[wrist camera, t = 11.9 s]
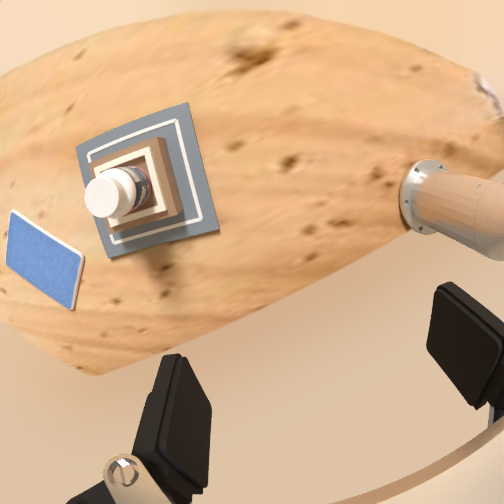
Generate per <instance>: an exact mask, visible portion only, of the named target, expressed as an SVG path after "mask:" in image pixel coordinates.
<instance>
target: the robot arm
mask: <svg viewBox="0 0 504 504" xmlns="http://www.w3.org/2000/svg"><path fill="white" fill-rule="evenodd" d="M399 200H400V208H401V213H402V215H403V218H404V220H405V221H406V223H407V224H408V225H409V227H410V228H412V229H413V230H414V231H416V232H418V233H421V234H433V233H436V232H437V231H438V232H440V233H442V234H444V235H446V236H448V237H450V238H452V239H454V240H456V241H458V242H460V243H462V244H463V245H465V246H467V247H469V248H471V249H473V250H475V251H477V252H478V253H481V254H482V255H484V256H486V257H488V258H490V259H492V260H497V261H504V183H500V182H496V181H492V180H488V179H483V178H479V177H474V176H469V175H464V174H459V173H454V172H449V171H448V169H447V168H446V167H445V166H444V165H443V164H442V163H440V162H439V161H436V160H433V159H423V160H420V161H417V162H416V163H414V164H413V165H412V166H411V167H410V168H409V169H408V171H407V172H406V174H405V176H404V178H403V180H402V184H401V188H400V196H399ZM426 346H427V350H428V352H429V353H430V355H431V356H432V357H433V358H434V359H435V361H436V362H437V363H438V365H439V366H440V367H441V368H442V370H443V371H444V372H445V373H446V375H447V376H448V377H449V379H450V380H451V381H452V383H453V384H454V385H455V386H456V388H457V389H458V390H459V392H460V393H461V394H462V396H463V397H464V399H465V400H466V401H467V403H468V404H469V405H471V406H474V408H475V409H476V410H478V409H479V408H481V407H482V406H483V405H485V404H486V402H487V401H488V402H489V404H490V409H489V410H490V411H489V420H488V428H487V429H486V430H484V431H483V432H482V433H480V434H479V435H478V436H476V437H475V438H473V439H472V440H470V441H469V442H467V443H466V444H465V445H463V446H461V447H460V448H458V449H457V450H455V451H453V452H452V453H450V454H448V455H447V456H445V457H443V458H441V459H440V460H438V461H436V462H434V463H433V464H431V465H429V466H427V467H425V468H423V469H421V470H419V471H417V472H415V473H413V474H411V475H409V476H406V477H404V478H402V479H400V480H398V481H395V482H393V483H391V484H388V485H386V486H383V487H381V488H378V489H375V490H373V491H370V492H367V493H364V494H361V495H358V496H355V497H352V498H349V499H345V500H342V501H339V502H335V503H331V504H504V323H503V322H502V321H501V320H500V319H499V318H498V317H496V316H495V315H494V314H493V313H492V312H490V311H489V310H488V309H486V308H485V307H484V306H483V305H482V304H480V303H479V302H478V301H476V300H475V299H474V298H472V297H471V296H470V295H469V294H468V293H466V292H465V291H464V290H462V289H461V288H460V287H458V286H457V285H456V284H454V283H453V282H447V283H444V284H442V285H439V286H438V287H437V289H436V291H435V293H434V299H433V307H432V314H431V321H430V327H429V332H428V338H427V343H426ZM211 417H212V408H211V404H210V402H209V400H208V398H207V396H206V395H205V393H204V391H203V389H202V387H201V385H200V383H199V381H198V379H197V378H196V376H195V374H194V372H193V370H192V368H191V366H190V364H189V361H188V359H187V358H186V357H182V356H181V355H180V354H171V355H164V356H163V357H162V360H161V363H160V367H159V370H158V373H157V376H156V379H155V383H154V386H153V389H152V392H150V393H149V395H148V397H147V400H146V403H145V406H144V410H143V413H142V417H141V420H140V424H139V428H138V431H137V435H136V438H135V442H134V446H133V450H132V454H131V455H129V454H121V455H118V456H115V457H113V458H112V459H111V460H109V462H108V463H107V464H106V466H105V468H104V471H103V477H104V480H103V481H101V482H100V483H98V484H97V485H95V486H93V487H91V488H90V489H88V490H86V491H84V492H83V493H81V494H79V495H77V496H75V497H73V498H72V499H70V500H69V501H68V502H67V503H66V504H192V503H191V502H192V494H203V488H206V487H207V485H208V470H209V449H210V433H211V432H210V431H211Z"/></svg>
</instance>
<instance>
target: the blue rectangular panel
mask: <svg viewBox="0 0 504 504" xmlns="http://www.w3.org/2000/svg"><path fill="white" fill-rule="evenodd" d="M5 262H6V265H7V266H8V267H9V268H10V269H12V270H13V271H14V272H15V273H17V274H18V275H19V276H21V277H22V278H23V279H25V280H26V281H27V282H29V283H30V284H32V285H33V286H34V287H36V288H37V289H39V290H40V291H41V292H43V293H44V294H46V295H47V296H49V297H50V298H52V299H53V300H55V301H56V302H58V303H59V304H61V305H62V306H64V307H65V308H67V309H69V310H73V309H74V306H75V301H76V296H77V291H78V286H79V282H80V277H81V272H82V268H83V263H84V255H83V254H82V253H81V252H80V251H78V250H76V249H74V248H73V247H71V246H69V245H68V244H66V243H64V242H63V241H61V240H60V239H58V238H56V237H55V236H53V235H52V234H50V233H48V232H47V231H45V230H44V229H42V228H41V227H39V226H38V225H36V224H35V223H33V222H32V221H31V220H29V219H28V218H26V217H24V216H23V215H22V214H20V213H19V212H18V211H16V210H15V209H13V210H12V211H11V213H10V219H9V226H8V235H7V245H6V259H5Z"/></svg>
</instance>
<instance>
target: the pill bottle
mask: <svg viewBox="0 0 504 504" xmlns="http://www.w3.org/2000/svg"><path fill="white" fill-rule="evenodd" d="M150 193H151V181H150V178H149V176H148V174H147V173H146V172H145V171H144V170H143V169H141V168H139V167H135V166H128V167H119V168H112V169H108V170H106V171H104V172H102V173H101V174H100V175H99V176H98V177H97V178H95V179H93V180H92V181H91V182H90V183H89V184H88V186H87V188H86V190H85V204H86V207H87V209H88V210H89V211H90V213H91V214H93V215H94V216H96V217H99V218H106V217H108V218H119V217H122V216H124V215H126V214H128V213H129V212H131V211H133V210H135V209H136V208H138V207H140V206H142V205H143V204H144V203H145V202H146V201H147V200H148V198H149V196H150Z"/></svg>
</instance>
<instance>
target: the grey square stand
mask: <svg viewBox="0 0 504 504" xmlns="http://www.w3.org/2000/svg"><path fill="white" fill-rule="evenodd" d="M76 151H77V156H78V160H79V165H80V169H81V173H82V177H83V181H84V185H85V189H86V188H87V186H88V184H89V183H90V182H91V181H92V180H93V179H95V178H97V177H98V176H99V175H100V174H101V173H102V172H104V171H106V170H108V169H112V168H119V167H128V166H135V167H139V168H141V169H143V170H144V171H145V172H146V173H147V174H148V176H149V178H150V181H151V193H150V196H149V198H148V200H147V201H146V202H145V203H144V204H143V205H142V206H140V207H138V208H136V209H135V210H133V211H131V212H129V213H128V214H126V215H124V216H122V217H119V218H108V217H106V218H99V217H96V216H94V215H93V216H94V219H95V223H96V226H97V229H98V232H99V235H100V237H101V240H102V243H103V246H104V249H105V251H106V254H107V257H108V258H111V257H115V256H118V255H122V254H126V253H129V252H133V251H137V250H140V249H144V248H148V247H151V246H155V245H159V244H163V243H167V242H170V241H174V240H178V239H182V238H186V237H190V236H194V235H198V234H202V233H206V232H210V231H214V230H218V229H219V228H220V227H219V224H218V220H217V216H216V212H215V208H214V205H213V201H212V197H211V193H210V189H209V185H208V181H207V178H206V174H205V170H204V166H203V162H202V158H201V154H200V150H199V145H198V141H197V137H196V133H195V129H194V125H193V121H192V116H191V112H190V108H189V104H188V102H187V103H183V104H180V105H177V106H174V107H171V108H168V109H164V110H161V111H159V112H156V113H153V114H150V115H147V116H145V117H142V118H139V119H137V120H134V121H131V122H129V123H126V124H124V125H121V126H119V127H117V128H114V129H112V130H110V131H107V132H105V133H103V134H101V135H99V136H96V137H94V138H92V139H90V140H88V141H86V142H84V143H82V144H80V145H78V146H76Z"/></svg>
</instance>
